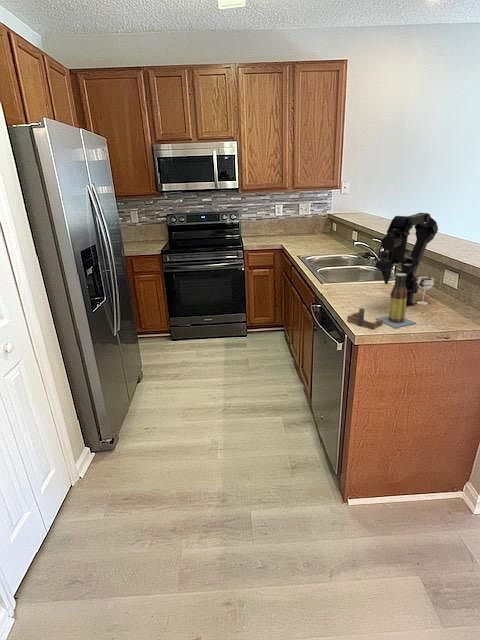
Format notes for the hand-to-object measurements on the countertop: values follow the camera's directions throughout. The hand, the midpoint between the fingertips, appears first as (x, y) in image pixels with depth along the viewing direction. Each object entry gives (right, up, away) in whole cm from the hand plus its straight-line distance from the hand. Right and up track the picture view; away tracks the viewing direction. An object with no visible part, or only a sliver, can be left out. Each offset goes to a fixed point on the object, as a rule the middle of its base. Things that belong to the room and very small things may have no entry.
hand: (394, 282), depth 160 cm
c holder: (-16, -18, -8) cm, 25 cm away
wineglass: (+19, -9, +13) cm, 24 cm away
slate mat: (-3, -17, -7) cm, 19 cm away
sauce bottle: (-3, -17, -7) cm, 18 cm away
